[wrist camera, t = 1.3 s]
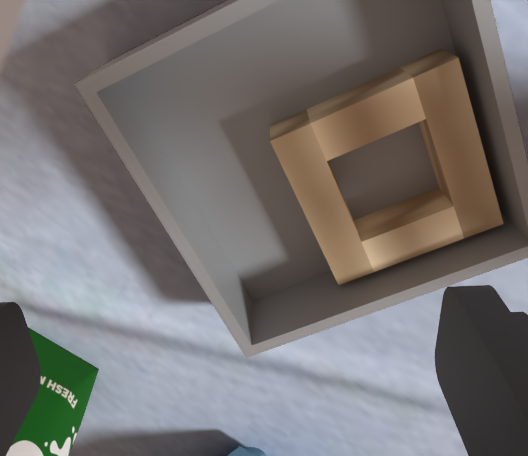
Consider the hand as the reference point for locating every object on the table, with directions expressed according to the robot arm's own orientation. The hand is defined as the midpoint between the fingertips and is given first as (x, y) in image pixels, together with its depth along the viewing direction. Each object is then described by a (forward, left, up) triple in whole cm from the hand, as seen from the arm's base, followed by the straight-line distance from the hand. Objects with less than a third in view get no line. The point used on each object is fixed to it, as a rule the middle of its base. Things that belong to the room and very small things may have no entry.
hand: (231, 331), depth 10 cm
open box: (-2, +6, -24) cm, 25 cm away
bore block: (-5, +9, -23) cm, 25 cm away
